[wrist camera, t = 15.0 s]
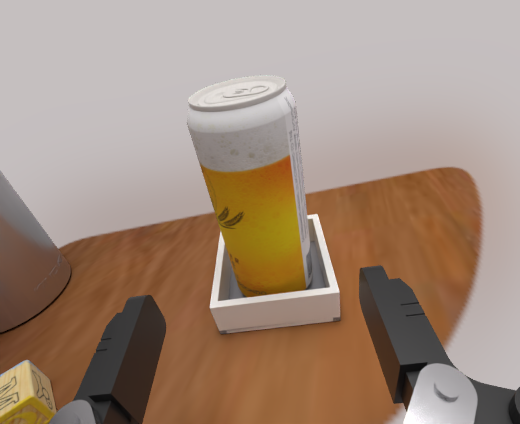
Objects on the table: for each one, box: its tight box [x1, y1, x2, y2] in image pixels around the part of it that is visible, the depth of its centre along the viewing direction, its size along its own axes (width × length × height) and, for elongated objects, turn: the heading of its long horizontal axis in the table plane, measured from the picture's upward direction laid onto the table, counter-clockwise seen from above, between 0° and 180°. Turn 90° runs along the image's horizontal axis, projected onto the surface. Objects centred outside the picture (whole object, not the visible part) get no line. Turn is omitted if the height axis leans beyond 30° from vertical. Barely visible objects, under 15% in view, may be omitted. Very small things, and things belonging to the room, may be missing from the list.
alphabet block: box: [0, 360, 57, 424], centre depth 19 cm, size 3×3×3 cm
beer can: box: [187, 75, 313, 298], centre depth 21 cm, size 6×6×15 cm
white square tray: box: [210, 214, 340, 334], centre depth 25 cm, size 9×9×3 cm
